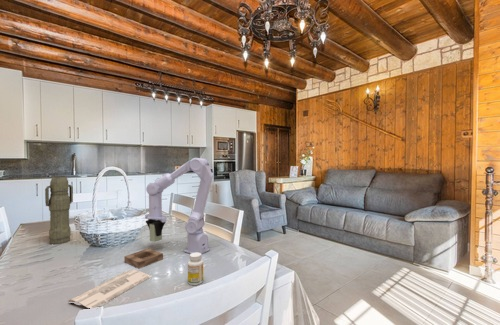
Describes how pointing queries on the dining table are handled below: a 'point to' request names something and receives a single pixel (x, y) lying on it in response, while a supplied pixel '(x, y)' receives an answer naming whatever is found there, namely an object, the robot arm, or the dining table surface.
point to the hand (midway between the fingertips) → (155, 235)
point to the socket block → (143, 258)
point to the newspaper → (111, 288)
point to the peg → (154, 234)
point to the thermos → (59, 209)
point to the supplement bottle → (195, 269)
